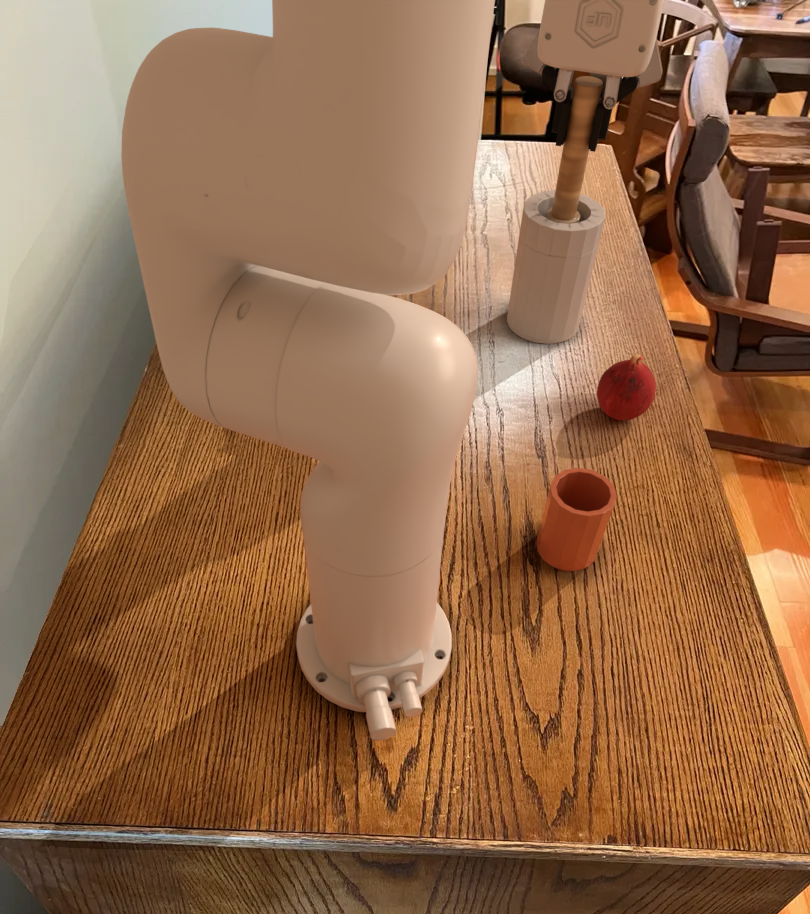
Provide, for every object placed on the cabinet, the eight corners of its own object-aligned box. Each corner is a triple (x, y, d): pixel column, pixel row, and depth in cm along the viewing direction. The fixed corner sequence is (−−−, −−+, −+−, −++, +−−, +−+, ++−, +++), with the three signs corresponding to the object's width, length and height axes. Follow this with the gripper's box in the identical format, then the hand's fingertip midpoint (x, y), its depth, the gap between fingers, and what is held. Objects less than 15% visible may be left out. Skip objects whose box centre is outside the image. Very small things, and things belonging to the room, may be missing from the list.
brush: (576, 263, 85) (614, 87, 71) (545, 267, 85) (577, 90, 71) (564, 246, 87) (599, 72, 73) (534, 249, 87) (564, 75, 73)
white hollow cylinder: (589, 339, 90) (617, 226, 80) (520, 347, 89) (539, 234, 78) (563, 298, 96) (586, 187, 85) (497, 305, 94) (513, 193, 84)
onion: (640, 442, 79) (662, 381, 73) (585, 429, 80) (602, 367, 74) (648, 407, 83) (669, 346, 77) (595, 395, 84) (612, 333, 78)
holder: (605, 569, 69) (627, 509, 62) (546, 579, 68) (563, 520, 62) (582, 524, 72) (601, 463, 66) (527, 533, 71) (541, 473, 65)
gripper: (515, -91, 61) (489, 146, 75) (723, -69, 59) (656, 173, 73) (532, -112, 66) (505, 116, 80) (726, -92, 63) (662, 139, 77)
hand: (577, 141), depth 76 cm, fingers closed on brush, 2 cm apart
